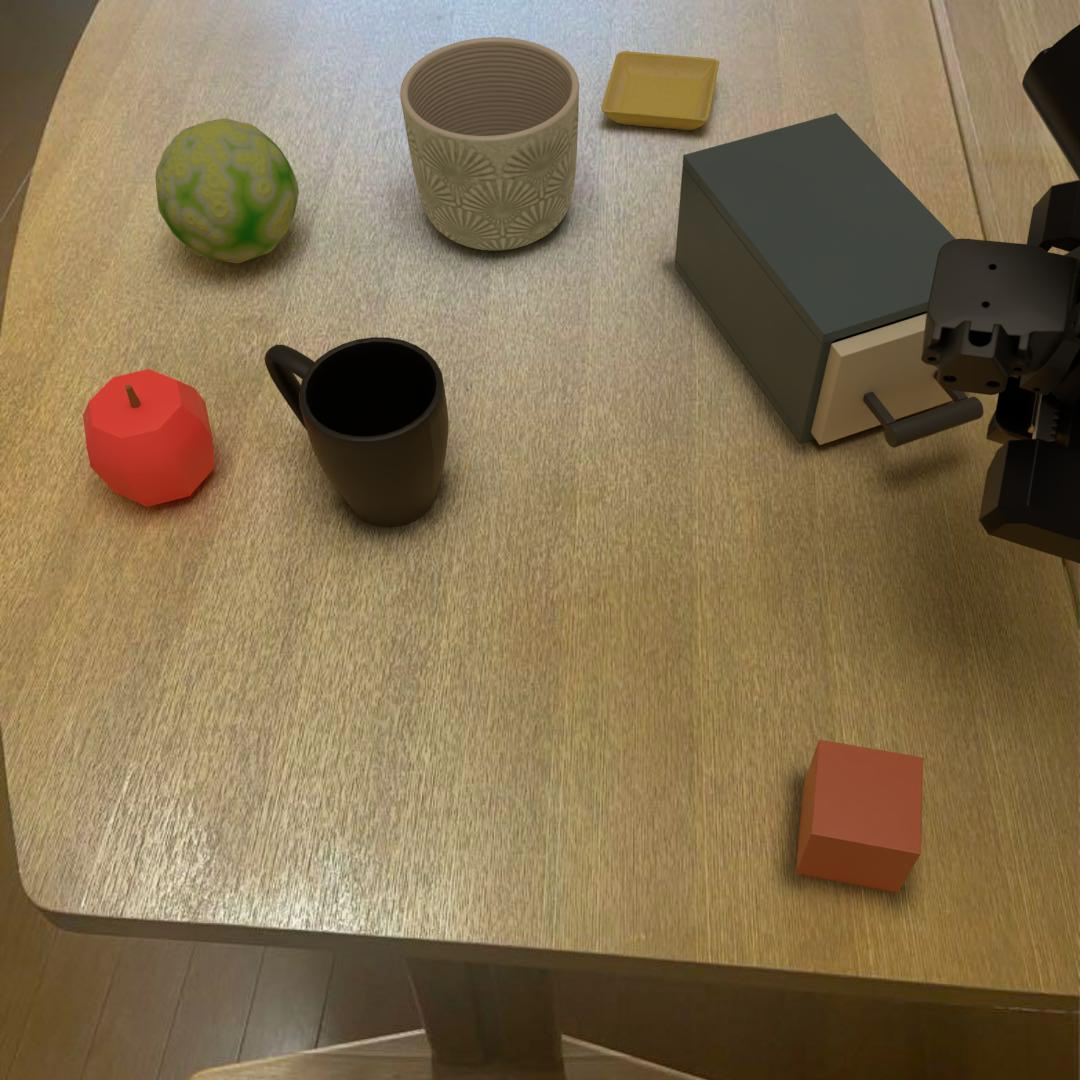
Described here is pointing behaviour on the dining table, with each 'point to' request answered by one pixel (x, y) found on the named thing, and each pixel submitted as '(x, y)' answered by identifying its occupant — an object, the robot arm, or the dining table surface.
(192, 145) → the decorative ball
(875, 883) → the block
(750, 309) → the cabinet
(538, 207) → the planter
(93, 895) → the dining table surface
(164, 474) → the apple
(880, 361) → the drawer
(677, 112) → the saucer
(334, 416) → the mug
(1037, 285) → the robot arm
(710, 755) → the dining table surface
